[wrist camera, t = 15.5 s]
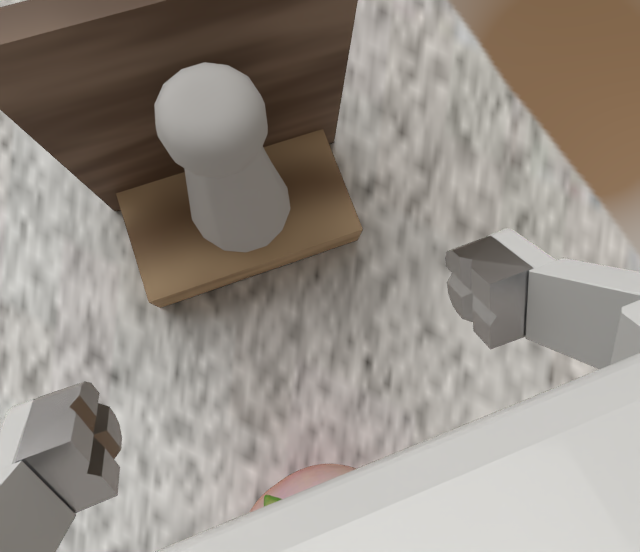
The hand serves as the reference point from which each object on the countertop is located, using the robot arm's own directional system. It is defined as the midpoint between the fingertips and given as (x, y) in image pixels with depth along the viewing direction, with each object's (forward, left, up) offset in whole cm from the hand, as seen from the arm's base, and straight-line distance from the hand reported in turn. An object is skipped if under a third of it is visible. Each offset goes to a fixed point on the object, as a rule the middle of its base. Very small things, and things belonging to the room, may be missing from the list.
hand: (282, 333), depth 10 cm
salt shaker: (+9, +4, -19) cm, 21 cm away
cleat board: (+10, +4, -21) cm, 23 cm away
